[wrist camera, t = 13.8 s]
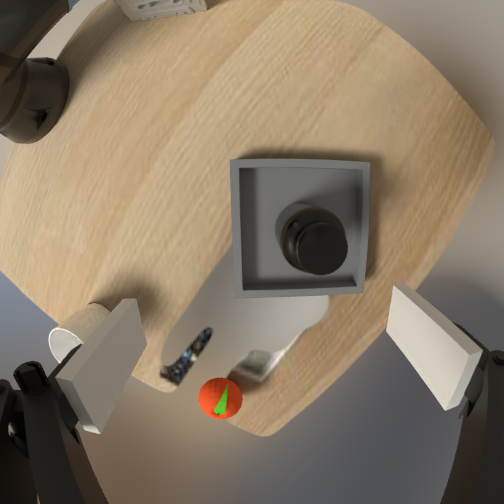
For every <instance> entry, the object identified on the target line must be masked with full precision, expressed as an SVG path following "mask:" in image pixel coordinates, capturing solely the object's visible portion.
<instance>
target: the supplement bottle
mask: <svg viewBox="0 0 504 504" xmlns="http://www.w3.org/2000/svg"><path fill="white" fill-rule="evenodd" d="M275 236H276V239H277V242H278V244H279V246H280V249H281V251H282V254H283V256H284V258H285V259H286V261H287V262H288V263H289V264H290V265H291V266H292V267H293V268H294V269H296V270H298V271H300V272H303V273H307V274H314V275H319V276H321V275H327V274H331V273H333V272H335V271H336V270H338V269H339V267H341V266H342V264H343V263H344V262H345V259H346V257H347V253H348V245H347V243H348V241H347V240H346V232H345V229H344V226H343V224H342V222H341V221H340V219H339V218H338V217H337V216H336V215H335V214H333V213H332V212H330V211H329V210H327V209H324V208H321V207H319V206H316V205H313V204H310V203H305V202H298V203H294V204H291V205H289V206H287V207H286V208H285V209H283V210H282V212H281V213H280V214H279V216H278V218H277V220H276V223H275Z"/></svg>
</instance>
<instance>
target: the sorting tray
mask: <svg viewBox="0 0 504 504" xmlns="http://www.w3.org/2000/svg"><path fill="white" fill-rule="evenodd" d="M230 180H231V213H232V240H233V262H234V263H233V265H234V285H235V298H259V297H260V298H261V297H293V296H294V297H295V296H319V295H339V294H355V293H363V290H364V281H365V272H366V261H367V249H368V235H369V215H370V162H358V161H342V160H321V159H236V160H230ZM298 202H305V203H310V204H313V205H316V206H319V207H321V208H324V209H327V210H329V211H330V212H332V213H333V214H335V215H336V216H337V217H338V218H339V219H340V221H341V222H342V224H343V226H344V229H345V232H346V240H347V241H348V243H347V245H348V253H347V257H346V259H345V262H344V263H343V264H342V266H341V267H339V269H338V270H336V271H335V272H333V273H331V274H327V275H321V276H319V275H314V274H307V273H303V272H300V271H298V270H296V269H294V268H293V267H292V266H291V265H290V264H289V263H288V262H287V261H286V259H285V258H284V256H283V254H282V251H281V249H280V246H279V244H278V242H277V239H276V236H275V223H276V220H277V218H278V216H279V214H280V213H281V212H282V210H283V209H285V208H286V207H287V206H289V205H291V204H294V203H298Z"/></svg>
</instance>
